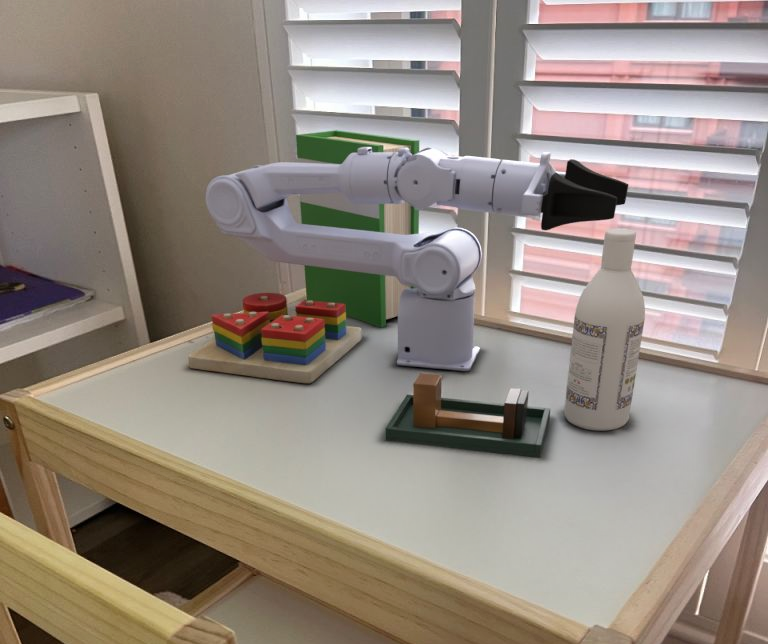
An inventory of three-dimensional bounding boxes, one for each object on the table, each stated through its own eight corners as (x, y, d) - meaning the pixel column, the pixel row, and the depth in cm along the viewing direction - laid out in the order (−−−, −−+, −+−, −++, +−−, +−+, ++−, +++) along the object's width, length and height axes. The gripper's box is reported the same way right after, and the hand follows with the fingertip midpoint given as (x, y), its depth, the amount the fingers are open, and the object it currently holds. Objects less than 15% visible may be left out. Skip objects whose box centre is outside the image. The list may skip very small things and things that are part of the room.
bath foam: (619, 405, 91) (647, 222, 81) (635, 432, 85) (667, 238, 75) (558, 406, 91) (578, 223, 81) (570, 433, 85) (592, 240, 75)
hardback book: (418, 316, 120) (419, 140, 107) (381, 327, 116) (378, 145, 103) (342, 291, 131) (336, 130, 118) (306, 301, 127) (295, 134, 114)
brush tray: (385, 440, 85) (385, 428, 84) (407, 405, 92) (406, 394, 92) (539, 457, 81) (541, 445, 80) (549, 419, 88) (550, 408, 88)
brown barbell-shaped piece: (412, 428, 86) (412, 385, 83) (420, 413, 89) (421, 371, 87) (521, 440, 83) (524, 395, 81) (526, 424, 87) (529, 380, 84)
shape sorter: (310, 385, 98) (307, 337, 95) (187, 368, 103) (180, 322, 100) (363, 338, 112) (361, 295, 108) (252, 326, 117) (248, 284, 114)
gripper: (485, 159, 83) (617, 172, 79) (520, 139, 95) (638, 151, 90) (478, 228, 87) (604, 245, 83) (513, 202, 99) (625, 216, 94)
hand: (621, 200), depth 87 cm, fingers open, 7 cm apart
